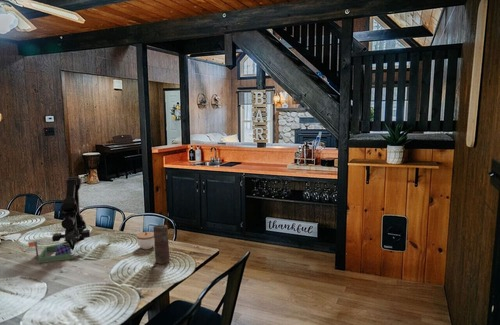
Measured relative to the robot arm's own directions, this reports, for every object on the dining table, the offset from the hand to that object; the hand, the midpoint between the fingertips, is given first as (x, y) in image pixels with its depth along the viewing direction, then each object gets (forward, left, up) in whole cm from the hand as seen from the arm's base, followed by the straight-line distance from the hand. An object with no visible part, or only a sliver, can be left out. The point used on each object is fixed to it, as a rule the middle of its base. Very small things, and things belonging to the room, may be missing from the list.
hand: (72, 249), depth 196 cm
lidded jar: (-40, +8, -2) cm, 41 cm away
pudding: (+5, +1, -2) cm, 5 cm away
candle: (-46, +32, -2) cm, 56 cm away
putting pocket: (+11, 0, -1) cm, 11 cm away
